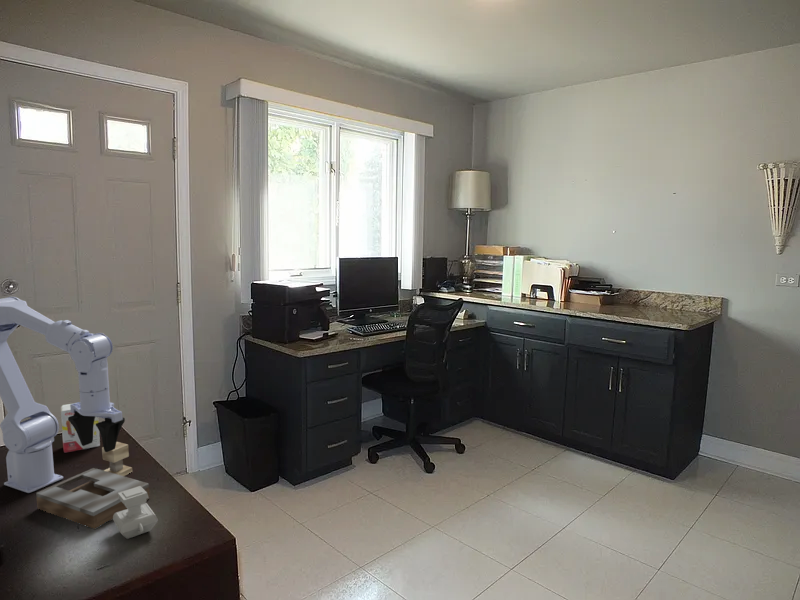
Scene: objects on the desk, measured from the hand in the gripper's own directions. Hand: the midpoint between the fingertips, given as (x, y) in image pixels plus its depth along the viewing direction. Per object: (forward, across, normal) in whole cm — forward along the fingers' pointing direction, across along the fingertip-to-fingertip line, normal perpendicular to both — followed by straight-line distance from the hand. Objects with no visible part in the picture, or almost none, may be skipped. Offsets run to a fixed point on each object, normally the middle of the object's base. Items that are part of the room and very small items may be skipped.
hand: (98, 447), depth 116 cm
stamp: (+11, -21, +8) cm, 25 cm away
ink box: (+11, +27, -14) cm, 32 cm away
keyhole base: (+10, -4, +4) cm, 12 cm away
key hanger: (+10, +4, -7) cm, 13 cm away
